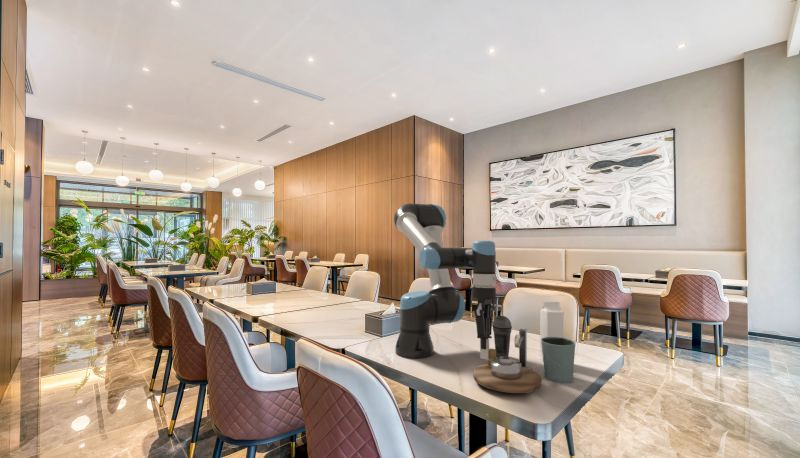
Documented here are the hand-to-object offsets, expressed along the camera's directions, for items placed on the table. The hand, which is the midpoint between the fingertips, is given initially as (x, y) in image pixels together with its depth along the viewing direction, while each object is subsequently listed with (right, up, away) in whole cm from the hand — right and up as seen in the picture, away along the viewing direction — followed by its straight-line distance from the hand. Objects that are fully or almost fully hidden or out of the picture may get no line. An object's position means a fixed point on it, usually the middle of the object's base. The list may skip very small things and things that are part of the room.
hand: (484, 358), depth 117 cm
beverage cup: (+11, -6, +18) cm, 22 cm away
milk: (+27, -6, +12) cm, 31 cm away
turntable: (+5, -4, -8) cm, 10 cm away
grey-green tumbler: (+23, -6, -3) cm, 24 cm away
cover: (+5, -2, -8) cm, 9 cm away
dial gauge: (+12, -5, 0) cm, 13 cm away
